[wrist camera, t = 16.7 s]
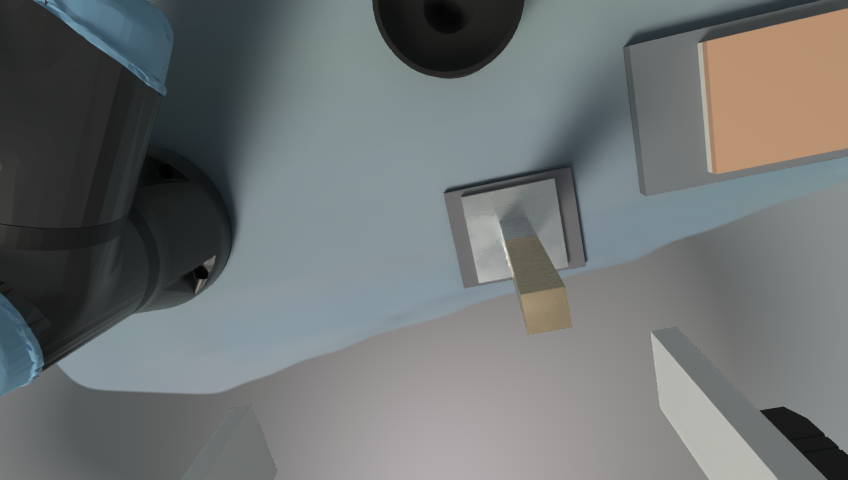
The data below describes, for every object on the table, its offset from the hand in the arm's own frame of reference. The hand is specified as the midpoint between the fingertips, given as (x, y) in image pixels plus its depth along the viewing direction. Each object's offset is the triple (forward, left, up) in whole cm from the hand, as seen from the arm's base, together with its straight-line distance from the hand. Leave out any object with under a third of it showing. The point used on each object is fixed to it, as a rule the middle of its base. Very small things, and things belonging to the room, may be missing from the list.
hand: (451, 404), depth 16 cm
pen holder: (+2, +16, -30) cm, 34 cm away
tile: (+20, +5, -27) cm, 34 cm away
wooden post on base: (+4, -2, -29) cm, 29 cm away
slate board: (+23, +5, -29) cm, 38 cm away
